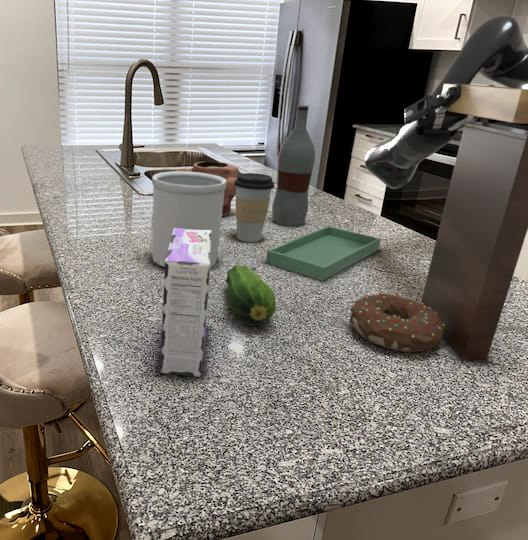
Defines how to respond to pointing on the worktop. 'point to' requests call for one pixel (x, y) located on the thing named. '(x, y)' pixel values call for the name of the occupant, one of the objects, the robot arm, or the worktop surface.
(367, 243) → the tray
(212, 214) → the utensil holder
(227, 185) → the decorative planter
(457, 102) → the beech stick
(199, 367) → the candy box
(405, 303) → the donut
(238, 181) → the coffee cup
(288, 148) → the vodka
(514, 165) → the walnut stand
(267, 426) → the worktop surface
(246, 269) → the vegetable
